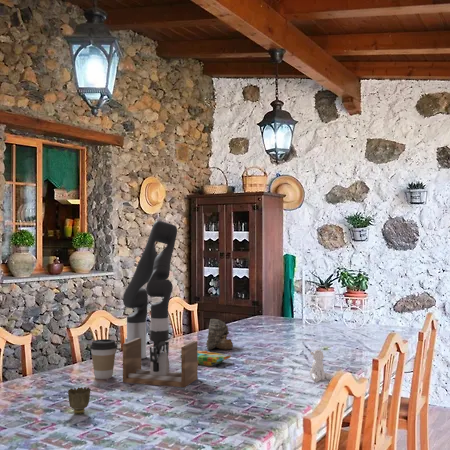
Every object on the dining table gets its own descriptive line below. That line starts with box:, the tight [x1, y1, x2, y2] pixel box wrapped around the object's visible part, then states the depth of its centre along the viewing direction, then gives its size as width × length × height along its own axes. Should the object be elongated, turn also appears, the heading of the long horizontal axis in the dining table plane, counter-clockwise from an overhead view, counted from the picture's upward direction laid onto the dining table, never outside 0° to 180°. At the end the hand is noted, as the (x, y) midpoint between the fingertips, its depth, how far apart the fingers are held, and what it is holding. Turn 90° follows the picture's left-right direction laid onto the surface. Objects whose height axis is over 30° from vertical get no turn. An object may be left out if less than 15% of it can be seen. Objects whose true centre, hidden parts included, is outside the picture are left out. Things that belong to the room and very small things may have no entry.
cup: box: [67, 386, 91, 415], centre depth 205 cm, size 8×7×8 cm
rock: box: [205, 318, 234, 351], centre depth 316 cm, size 18×14×15 cm
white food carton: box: [149, 352, 170, 376], centre depth 248 cm, size 4×7×10 cm, turn 73°
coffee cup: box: [89, 338, 118, 380], centre depth 255 cm, size 11×11×15 cm
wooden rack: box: [122, 338, 199, 388], centre depth 249 cm, size 27×14×16 cm, turn 72°
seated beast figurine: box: [309, 349, 334, 383], centre depth 251 cm, size 10×9×12 cm
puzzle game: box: [197, 349, 231, 367], centre depth 282 cm, size 12×5×20 cm
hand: (159, 369), depth 248 cm, fingers open, 6 cm apart
